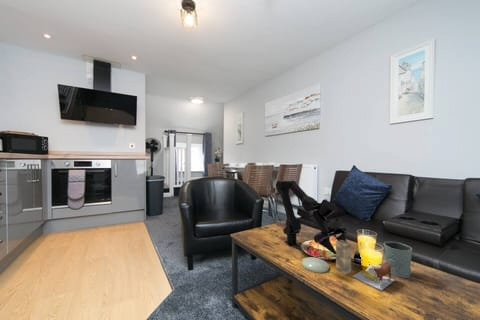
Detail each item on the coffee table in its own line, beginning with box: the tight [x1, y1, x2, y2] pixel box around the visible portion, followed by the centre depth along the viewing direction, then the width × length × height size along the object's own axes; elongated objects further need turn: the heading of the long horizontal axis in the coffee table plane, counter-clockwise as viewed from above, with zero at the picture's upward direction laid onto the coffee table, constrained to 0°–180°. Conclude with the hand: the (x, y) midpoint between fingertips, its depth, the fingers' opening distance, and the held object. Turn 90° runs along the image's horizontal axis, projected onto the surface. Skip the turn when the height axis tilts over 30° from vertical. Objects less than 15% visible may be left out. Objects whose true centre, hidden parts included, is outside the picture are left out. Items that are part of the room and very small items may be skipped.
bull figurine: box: [365, 261, 392, 287], centre depth 80 cm, size 4×13×8 cm, turn 113°
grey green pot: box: [383, 241, 413, 279], centre depth 88 cm, size 10×10×12 cm
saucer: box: [301, 256, 330, 274], centre depth 93 cm, size 12×12×1 cm
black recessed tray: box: [351, 252, 363, 267], centre depth 97 cm, size 12×7×5 cm, turn 49°
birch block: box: [335, 240, 352, 275], centre depth 89 cm, size 4×4×13 cm
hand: (342, 251), depth 90 cm, fingers open, 9 cm apart
